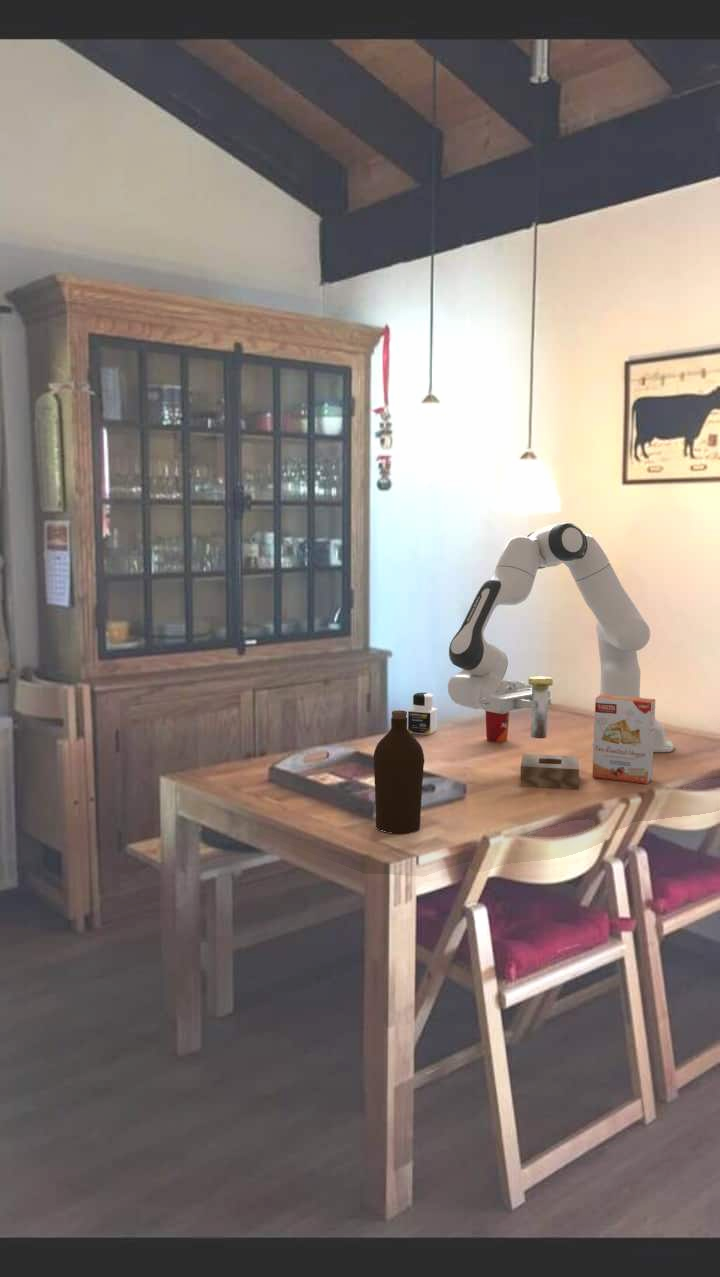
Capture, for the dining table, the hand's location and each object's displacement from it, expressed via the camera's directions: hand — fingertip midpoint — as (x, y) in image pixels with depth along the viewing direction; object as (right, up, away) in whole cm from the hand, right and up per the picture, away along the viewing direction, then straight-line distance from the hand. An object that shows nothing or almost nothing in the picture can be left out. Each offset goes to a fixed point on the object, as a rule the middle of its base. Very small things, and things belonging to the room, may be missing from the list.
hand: (542, 703), depth 262 cm
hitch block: (+1, -19, -1) cm, 19 cm away
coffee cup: (-6, -14, +47) cm, 49 cm away
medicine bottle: (-27, -12, +57) cm, 64 cm away
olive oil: (-38, -24, -41) cm, 61 cm away
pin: (-1, -8, +2) cm, 9 cm away
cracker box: (+20, -19, +1) cm, 28 cm away
